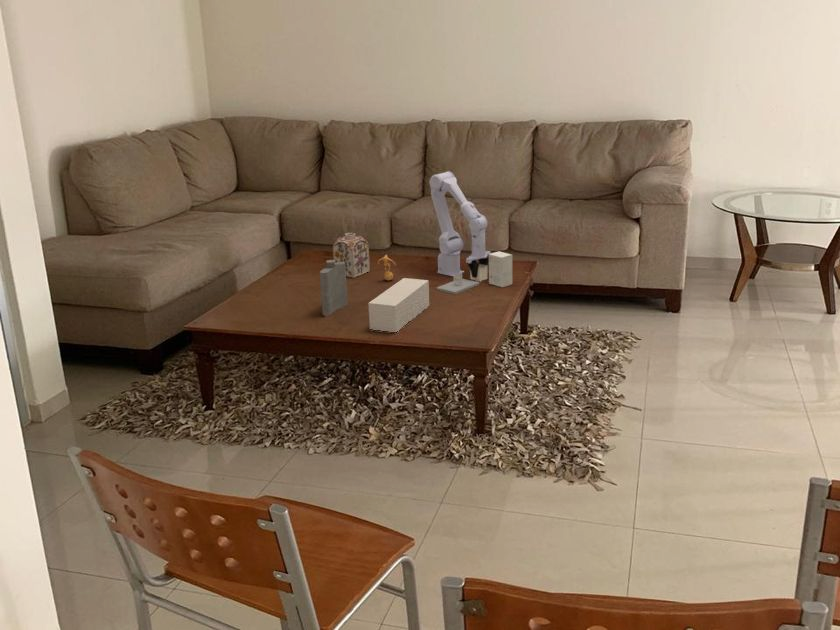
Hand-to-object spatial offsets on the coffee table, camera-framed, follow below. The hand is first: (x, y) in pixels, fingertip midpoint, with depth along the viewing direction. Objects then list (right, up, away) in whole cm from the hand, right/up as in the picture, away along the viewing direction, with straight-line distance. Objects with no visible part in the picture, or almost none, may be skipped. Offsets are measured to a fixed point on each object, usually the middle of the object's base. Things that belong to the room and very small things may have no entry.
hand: (478, 275), depth 379 cm
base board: (-9, -5, -9) cm, 14 cm away
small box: (+9, -4, -7) cm, 12 cm away
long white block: (-33, -18, -42) cm, 56 cm away
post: (-9, -5, -9) cm, 14 cm away
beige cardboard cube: (0, -1, +1) cm, 2 cm away
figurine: (-39, -2, +2) cm, 39 cm away
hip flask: (-59, -15, -32) cm, 68 cm away
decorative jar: (-55, +1, +15) cm, 57 cm away
